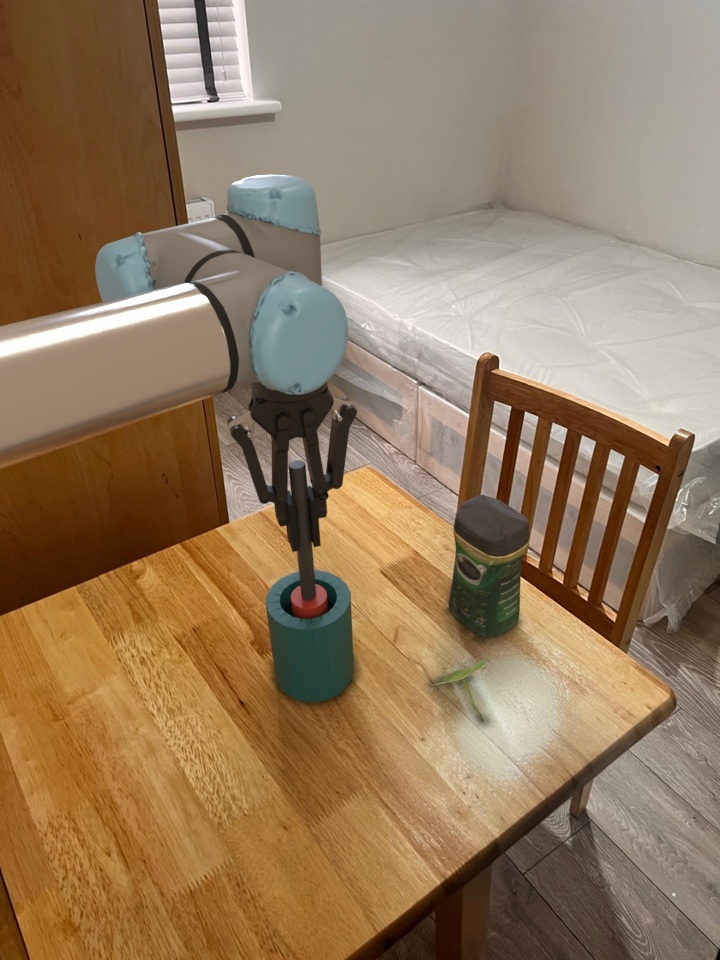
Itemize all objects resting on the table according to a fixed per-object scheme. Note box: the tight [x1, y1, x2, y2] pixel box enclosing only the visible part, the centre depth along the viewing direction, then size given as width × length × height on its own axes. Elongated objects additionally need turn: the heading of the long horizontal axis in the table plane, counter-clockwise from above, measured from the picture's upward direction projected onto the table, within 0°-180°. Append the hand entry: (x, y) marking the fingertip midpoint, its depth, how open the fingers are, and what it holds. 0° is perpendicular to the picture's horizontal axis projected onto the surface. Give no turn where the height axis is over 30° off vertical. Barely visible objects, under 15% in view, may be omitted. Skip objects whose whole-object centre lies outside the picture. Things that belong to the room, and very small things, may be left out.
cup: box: [265, 569, 355, 703], centre depth 92 cm, size 10×10×13 cm
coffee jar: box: [448, 493, 530, 639], centre depth 97 cm, size 10×8×19 cm
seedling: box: [434, 658, 489, 722], centre depth 90 cm, size 7×8×7 cm
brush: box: [288, 459, 328, 619], centre depth 84 cm, size 4×4×24 cm
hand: (303, 541), depth 83 cm, fingers closed on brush, 2 cm apart
